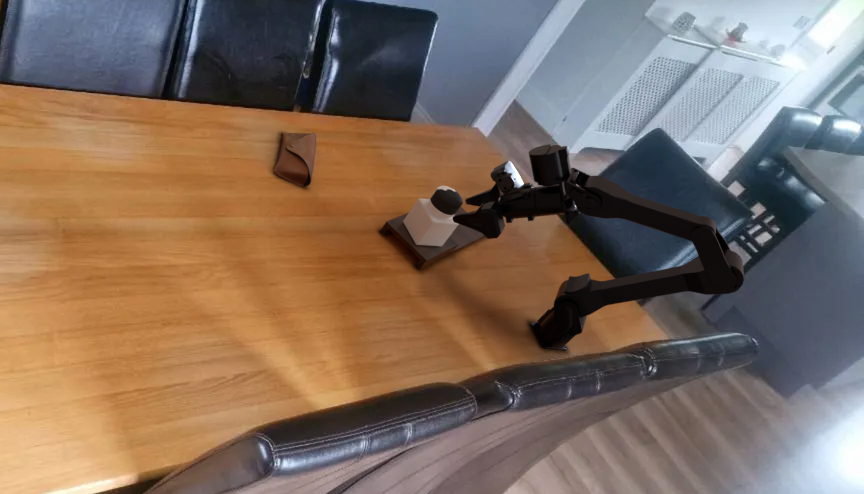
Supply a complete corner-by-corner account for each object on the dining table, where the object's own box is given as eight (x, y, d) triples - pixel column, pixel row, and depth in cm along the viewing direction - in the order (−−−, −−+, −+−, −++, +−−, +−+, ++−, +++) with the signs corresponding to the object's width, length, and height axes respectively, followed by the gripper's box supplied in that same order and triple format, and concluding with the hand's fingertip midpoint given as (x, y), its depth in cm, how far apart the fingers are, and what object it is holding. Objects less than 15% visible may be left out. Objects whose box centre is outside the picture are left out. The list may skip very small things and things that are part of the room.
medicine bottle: (442, 247, 150) (473, 206, 143) (415, 245, 147) (446, 204, 139) (427, 223, 155) (456, 183, 147) (401, 221, 151) (430, 180, 144)
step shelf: (451, 201, 171) (457, 192, 170) (487, 234, 167) (494, 226, 165) (379, 231, 151) (386, 221, 149) (419, 270, 146) (426, 260, 145)
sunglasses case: (280, 129, 164) (303, 115, 161) (298, 151, 168) (321, 137, 164) (272, 173, 151) (297, 158, 148) (291, 195, 154) (317, 181, 151)
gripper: (540, 146, 140) (463, 157, 149) (519, 180, 126) (436, 190, 134) (550, 197, 143) (474, 206, 152) (531, 236, 129) (449, 243, 138)
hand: (459, 210), depth 144 cm, fingers open, 9 cm apart
